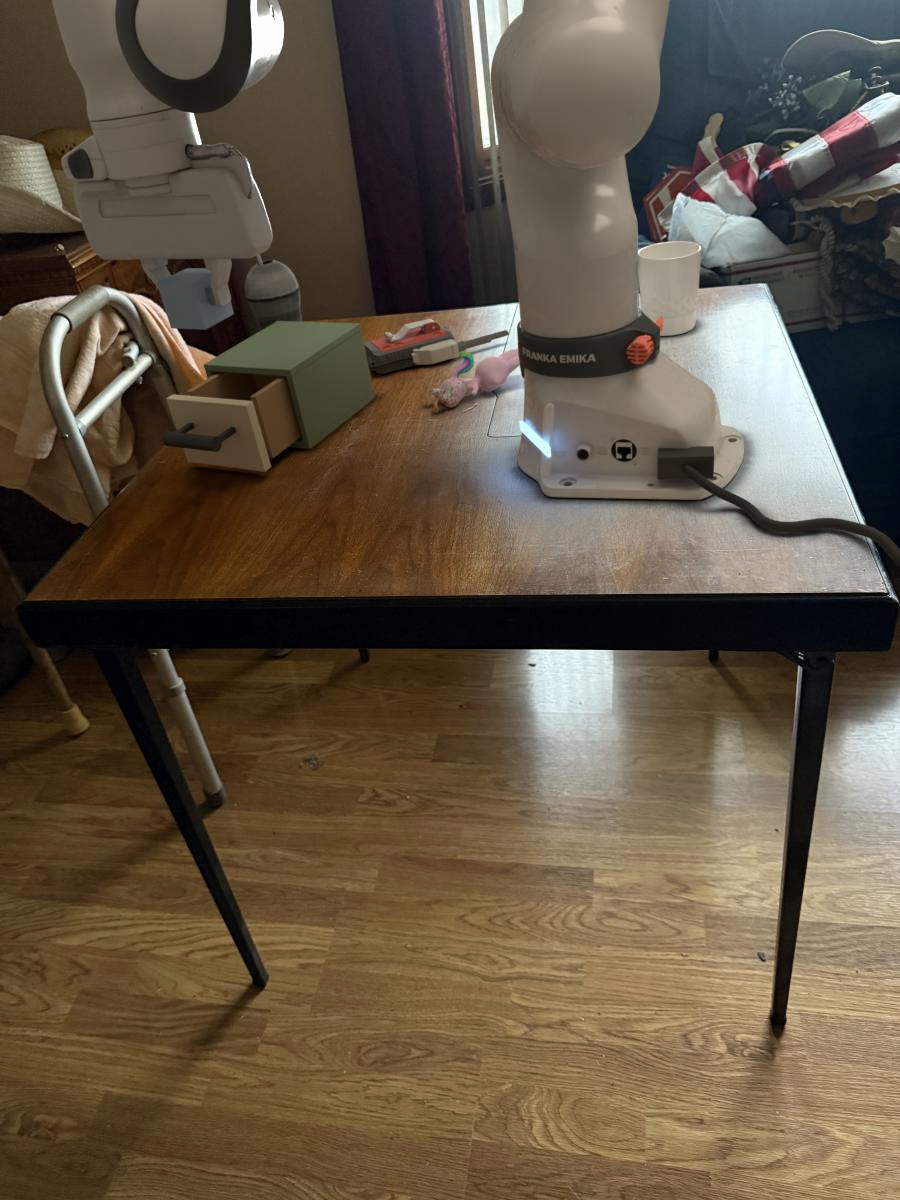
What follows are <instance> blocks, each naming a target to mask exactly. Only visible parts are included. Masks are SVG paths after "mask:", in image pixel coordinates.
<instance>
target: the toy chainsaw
mask: <svg viewBox="0 0 900 1200" xmlns="http://www.w3.org/2000/svg"><path fill="white" fill-rule="evenodd" d="M509 335H510V332H509V330H508V329H504V330H500V331H497V332H493V333H490V334H486V335H482V336H479V337H475V338H472V339H471V338H470V339H468V340H461V341H458V342H456V341H455V340H456V336H455V334H454V333H452V332H451V331H450V330H449V328H448V327H447V326H443V325H441V324H440V323H438V322H436V321H435V320H433V319H432V318H424V319H421V320H419V321H414V322H410V323H406V324H403V326H402V327H401V328H400V329H399V330H398V331H397V333H395V334H393V333H391V332H390V331H385V332H384V333H383V336H384V337H381V338H378V339H374V340H370V341H367V342H364V346H365V351H366V356H367V361H368V366H369V371H370V372H376V374H378V375H386V374H390V373H393V372H397V371H400V370H403V369H407V368H411V367H415V366H421V365H422V366H423V365H433V364H437V363H440V362H445V361H447V360H452V359H456V358H460V352H461V353H462V352H464V351H466V350H467V349H471V348H475V347H479V346H482V345H485V344H486V345H487V344H490V343H491V342H492V341H493V340H497V339H501V338H504V337H507V336H509Z"/></svg>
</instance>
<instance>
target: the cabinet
mask: <svg viewBox="0 0 900 1200" xmlns="http://www.w3.org/2000/svg"><path fill="white" fill-rule="evenodd" d="M364 343H365V341H364V337H363V331H362V325H361V323H357V322H330V321H329V322H326V321H302V322H297V321H277V322H275V323H273V324H272V325H270V326H268V327H266V328H265V329H263V330H261V331H260V330H259V331H258V332H256V333H254V334H253V335H251V336H249V337H248V338H246V339H244V340H243V341H241V342H239V343H238V344H236V345H234V346H233V347H230V348H229V349H227V350H225V351H224V352H222V353H220V354H219V355H217V356H215V357H214V358H212V359H211V360H209V361H207V362H205V363H203V367H204V368H203V369H204V371H205V375H206V377H207V378H206V379H208V378H209V377H211V376H213V375H214V374H216V373H218V372H230V373H245V374H260V375H275V376H287V381H288V385H289V389H290V393H291V397H292V401H293V405H294V408H295V412H296V416H297V420H298V424H299V428H300V432H301V436H302V437H300V438H299V439H298V440H296V441H295V442H294V443H292V444H291V445H290V446H289V447H288V448H293V449H294V448H295V449H304V450H311V449H313V448H314V447H315V446H316V445H317V444H319V443H320V442H322V441H323V440H324V439H325V438H326V437H328V436H329V435H330V434H331V433H333V432H334V431H335V430H337V429H338V428H339V427H340V426H341V425H343V424H344V423H345V422H346V421H348V420H349V419H351V417H353V416H354V415H355V414H356V413H358V412H360V410H362V409H363V408H365V406H367V405H368V404H369V403H370V402H372V401H373V400H374V399H375V398H376V397H375V392H374V386H373V382H372V381H373V380H372V377H371V371H369V366H368V361H367V356H366V351H365V346H364Z"/></svg>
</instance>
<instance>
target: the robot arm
mask: <svg viewBox="0 0 900 1200" xmlns="http://www.w3.org/2000/svg"><path fill="white" fill-rule="evenodd" d="M51 3H52V4H51V5H52V7H53V11H54V15H55V18H56V22H57V26H58V29H59V33H60V36H61V39H62V43H63V46H64V49H65V52H66V55H67V59H68V61H69V64H70V65H71V68H72V69H73V71H74V72H75V73H76V75H77V76H78V79H79V81H80V83H81V86H82V88H83V89H82V90H83V92H84V96H85V101H86V115H87V119H88V121H89V124H90V128H91V131H92V135H90V136H88V137H87V138H86V139H84V140H83V141H82V142H81V143H79V144H78V145H77V146H75V147H74V148H73V149H71V150H70V151H68V152H67V153H65V154H64V155H62V157H61V159H60V162H61V163H60V164H61V168H62V169H63V173H64V174H65V176H66V178H67V179H68V181H70V182H75V184H74V187H73V199H74V204H75V207H76V211H77V214H78V216H79V219H80V222H81V225H82V228H83V231H84V233H85V236H86V239H87V241H88V243H89V245H90V247H91V249H92V251H94V252H95V254H96V255H97V256H98V257H99V258H100V259H102V260H107V261H108V260H109V261H113V260H118V261H119V260H120V261H121V260H127V261H128V260H140V264H141V267H142V269H143V272H144V273H145V274H146V275H147V276H148V278H149V279H150V280H151V282H152V283H153V284H154V286H155V287H156V288H158V286H157V282H158V281H161V280H163V279H165V278H167V277H169V276H171V275H172V274H171V272H170V271H169V270H168V268H167V267H166V265H168V264H169V262H168V260H203V262H204V265H205V268H206V269H207V270H212V275H211V285H210V286H209V287H207V288H205V292H206V295H207V297H208V302H209V304H210V305H211V306H224V305H226V304H228V303H230V302H231V303H232V295H231V292H230V289H229V288H230V287H229V284H228V283H229V281H230V276H231V271H232V266H233V262H232V259H233V260H234V259H237V260H238V259H243V260H244V259H245V260H247V259H252V258H255V257H256V256H257V255H259V254H260V255H261V254H263V253H265V252H267V251H268V250H269V249H270V248H271V246H272V242H273V240H274V235H273V229H272V225H271V222H270V220H269V217H268V213H267V210H266V207H265V204H264V200H263V197H262V196H261V193H260V190H259V188H258V185H257V183H256V181H255V179H254V176H253V172H252V168H251V165H250V161H249V159H248V158H247V157H246V156H245V155H244V154H243V153H242V152H241V151H240V150H239V149H237V148H235V147H233V145H232V144H231V143H229V142H217V143H215V144H209V143H202V139H201V136H200V132H199V129H198V125H197V121H196V117H195V114H207V113H213V112H214V111H217V110H219V109H221V108H223V107H225V106H226V105H228V104H230V103H231V101H233V100H234V99H235V98H236V97H237V96H238V95H239V94H240V93H242V92H244V91H246V90H248V89H249V88H251V87H252V86H254V85H256V84H257V83H259V82H260V81H261V80H263V79H264V78H265V77H266V76H268V74H269V73H270V72H271V70H272V69H273V68H274V67H275V65H276V63H277V62H278V61H279V58H280V57H281V53H282V51H283V47H284V42H285V33H286V31H285V26H286V25H285V17H284V13H283V9H282V5H281V3H280V0H51ZM670 3H671V0H523V5H522V12H521V13H520V14H518V15H517V16H516V17H515V18H514V19H513V20H512V21H511V23H509V25H508V26H507V27H506V28H505V30H504V32H503V34H502V35H501V36H500V39H499V40H498V43H497V45H496V48H495V51H494V54H493V57H492V61H491V66H490V89H491V90H490V91H491V97H492V106H493V116H494V122H495V131H496V136H497V137H496V139H497V144H498V152H499V159H500V165H501V166H500V167H501V173H502V179H503V186H504V192H505V198H506V206H507V212H508V217H509V224H510V230H511V236H512V237H511V238H512V245H513V254H514V255H513V256H514V265H515V276H516V287H517V296H518V297H517V299H518V308H519V319H520V320H519V321H518V323H517V326H516V333H517V334H516V335H517V336H516V337H517V349H518V356H519V362H520V366H519V369H520V374H521V377H522V379H523V386H524V387H523V391H524V392H523V394H524V396H523V397H524V398H523V418H522V420H519V430H520V431H521V436H520V444H519V448H518V451H517V452H518V453H517V456H516V460H517V464H518V466H519V468H520V469H521V471H523V472H524V473H525V474H526V475H528V476H529V477H531V478H532V479H534V480H535V481H536V482H537V483H538V484H539V487H540V489H541V491H542V493H543V494H544V495H546V496H547V497H551V498H573V499H574V498H579V499H580V498H581V499H583V498H584V499H590V498H591V499H633V500H683V501H688V500H689V501H693V500H696V501H697V500H703V499H705V498H708V497H710V496H712V495H713V496H714V497H717V498H719V499H720V500H723V501H725V502H727V503H730V504H731V505H734V506H735V507H738V508H739V509H741V510H742V511H743V512H744V513H746V514H747V515H748V516H749V518H751V519H752V521H754V523H755V524H757V525H758V526H760V527H762V528H763V529H766V530H769V531H771V532H772V531H773V532H776V533H777V532H778V533H801V532H807V531H814V530H823V529H824V530H825V529H826V530H827V529H829V530H838V531H843V532H847V533H852V534H855V535H859V536H863V537H865V538H867V539H869V540H872V541H874V543H876V544H877V545H878V546H880V547H881V548H882V550H883V551H884V552H885V553H886V554H887V556H888V557H889V558H890V559H891V561H892V563H894V565H895V567H896V568H897V570H898V572H900V547H898V545H897V543H895V542H894V541H893V540H892V539H891V538H890V537H889V536H888V535H887V534H885V533H883V532H882V531H880V530H878V528H875V527H872V526H871V525H870V526H869V525H867V524H865V523H864V524H863V523H861V522H855V521H852V520H847V519H843V518H839V517H838V518H837V517H818V518H811V519H804V520H796V521H781V520H777V519H776V520H775V519H772V518H769V517H767V516H765V515H764V514H763V513H762V512H761V511H760V509H758V508H757V506H755V505H754V504H753V503H751V502H750V501H749V500H746V499H745V498H744V497H742V496H740V495H737V494H735V493H733V492H731V491H729V490H727V489H725V487H726V486H727V485H728V484H729V483H730V482H731V481H732V480H733V478H735V475H736V474H737V473H738V471H739V469H740V467H741V464H742V463H743V460H744V455H745V444H744V437H743V435H742V434H741V432H740V431H739V430H738V428H736V427H734V426H729V425H724V424H722V421H721V414H720V413H721V412H720V408H719V402H718V400H717V399H718V398H717V396H716V393H715V392H714V390H713V389H712V387H711V386H710V385H709V384H708V383H706V382H704V381H703V380H702V379H700V378H699V377H697V376H696V375H695V374H693V373H692V372H691V371H689V370H687V369H686V368H684V367H683V366H681V365H680V364H678V363H677V362H676V361H675V360H673V359H672V358H671V357H669V356H668V355H666V354H665V353H664V352H662V351H661V336H660V332H661V331H662V330H663V325H662V324H663V316H660V318H659V319H658V320H657V321H656V322H655V323H654V322H653V321H652V320H651V319H650V318H648V317H647V316H646V315H645V314H644V313H643V312H642V310H641V307H640V287H639V269H638V251H639V226H638V225H639V224H638V218H637V214H636V211H635V208H634V204H633V199H632V194H631V193H632V192H631V187H630V182H629V176H628V175H629V174H628V167H627V162H626V154H628V153H629V152H630V151H632V149H633V148H634V147H636V146H637V144H638V143H639V142H640V141H641V140H642V138H644V137H645V134H646V133H647V131H648V129H649V128H650V126H651V124H652V122H653V120H654V117H655V115H656V113H657V109H658V106H659V101H660V97H661V95H660V94H661V70H660V69H661V68H660V67H661V66H660V64H661V63H660V62H661V55H662V49H663V44H664V40H665V34H666V28H667V22H668V14H669V10H670V9H669V8H670Z"/></svg>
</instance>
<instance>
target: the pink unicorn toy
mask: <svg viewBox="0 0 900 1200" xmlns="http://www.w3.org/2000/svg"><path fill="white" fill-rule="evenodd" d="M459 358H461V359H463V360H462V362H461V363H460V364H459V365H458V366H457V367H456V370H455V371H454V374H453V375H452V377H450V378H448V379H446V380H444V381H443V382H442V383H441V385H440V386H439V387H438V388H430V389H429V391H428V393H427V394H426V393H425V392H423V395H424V399H425V401H424V402H425V404H427V407H429V406H430V400H429V399H430V396H431V395H433V396H434V397H435V398H436V399H434V398H431V400H432V401H433V402H432V404H433V410H434V409H435V410H436V413H438V412H439V407H438V403H442V404H443V405H444V406H445V407H446V408H455V407H456V406H458V404H459V403H460V402H461V401H462V400H463V398H464V397H465V396H470V395H471V396H473V397H474V396H476V394H477V393H478V392H479V387H480V390H481V391H486V392H487V393H492V392H493V391H495V390H497V389H499V388H500V387H501V386H502V385H503V384H505V383H506V382H507V380H508V378H509V376H510V374H511V373H512V372H514V371H515V370H516V369H517V368H519V367H520V362H519V356H518V348H511V349H509V350H506V351H504V352H503V353H501V354H500V355H498V356H496V355H492V356H487V357H485V358H483V359H481V361H480V362H478V364H477V365H476V367H475V370H474V377H473V378H465V377H460V376H461V375H463V374H466V373H468V372H469V371H471V370H472V369H473V367H474V364H475V358H474V356H473V354H472V353H471V352H464V353H462V354H461V355H459Z"/></svg>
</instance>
